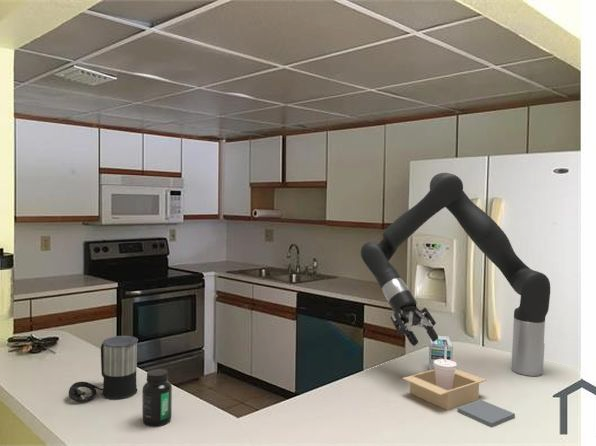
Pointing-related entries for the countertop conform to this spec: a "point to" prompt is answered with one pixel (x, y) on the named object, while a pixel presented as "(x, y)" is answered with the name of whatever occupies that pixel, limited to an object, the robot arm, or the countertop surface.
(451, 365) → the smoothie
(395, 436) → the countertop surface
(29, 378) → the countertop surface
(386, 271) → the robot arm
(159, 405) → the supplement bottle
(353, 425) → the countertop surface
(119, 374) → the milk frother
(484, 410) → the mat
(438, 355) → the light bulb box
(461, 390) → the carton
